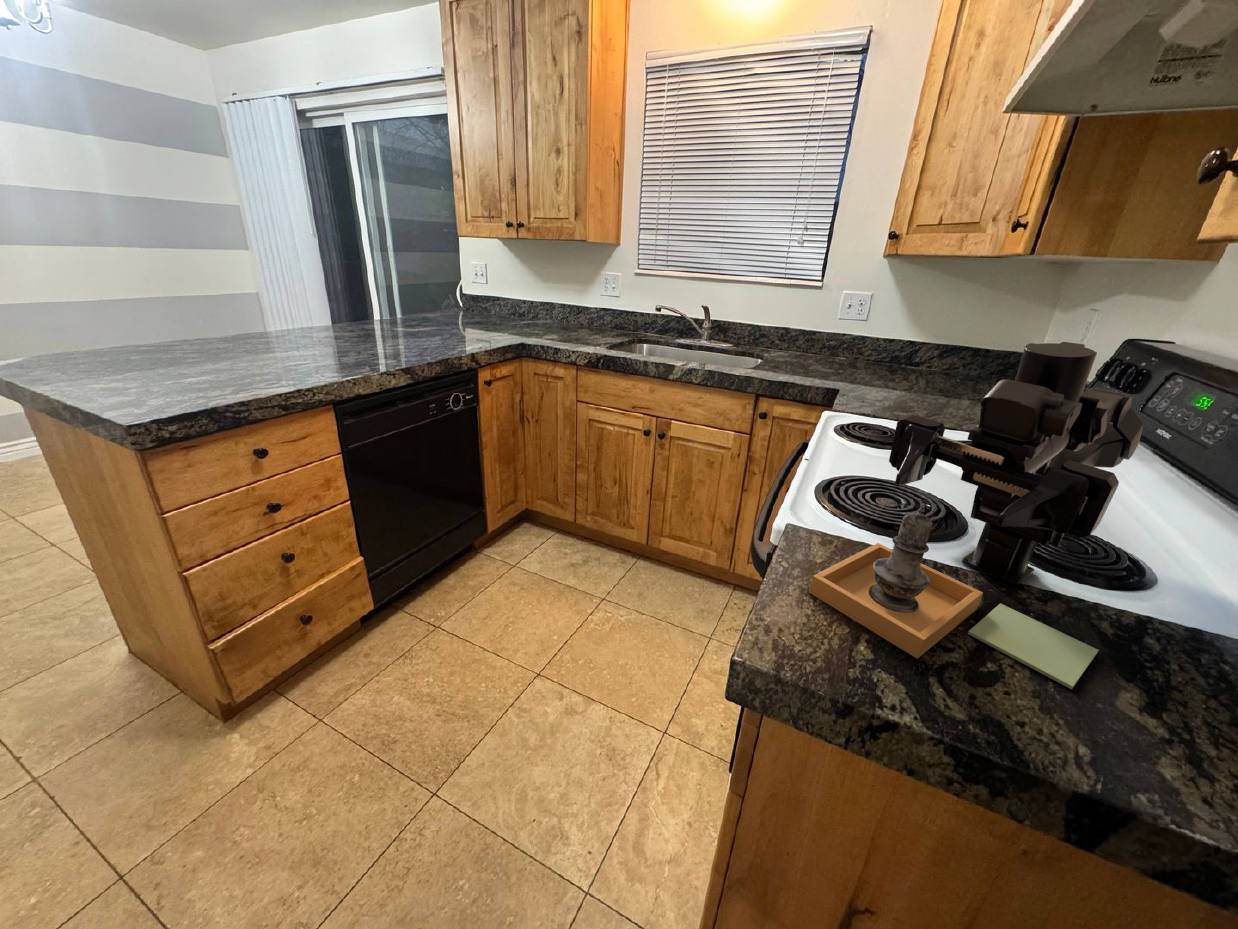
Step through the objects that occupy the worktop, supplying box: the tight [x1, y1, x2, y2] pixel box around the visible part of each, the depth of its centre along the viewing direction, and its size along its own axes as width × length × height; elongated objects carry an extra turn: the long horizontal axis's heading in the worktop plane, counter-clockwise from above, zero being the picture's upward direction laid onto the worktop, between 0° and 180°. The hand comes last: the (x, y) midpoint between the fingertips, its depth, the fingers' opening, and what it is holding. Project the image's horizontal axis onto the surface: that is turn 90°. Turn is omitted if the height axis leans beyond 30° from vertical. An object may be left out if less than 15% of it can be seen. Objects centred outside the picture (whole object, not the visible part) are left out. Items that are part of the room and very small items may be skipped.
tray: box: [808, 542, 984, 659], centre depth 58 cm, size 15×13×2 cm
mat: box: [967, 603, 1099, 690], centre depth 53 cm, size 9×9×1 cm
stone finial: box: [868, 506, 933, 613], centre depth 56 cm, size 6×6×12 cm
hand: (945, 499), depth 47 cm, fingers open, 9 cm apart
